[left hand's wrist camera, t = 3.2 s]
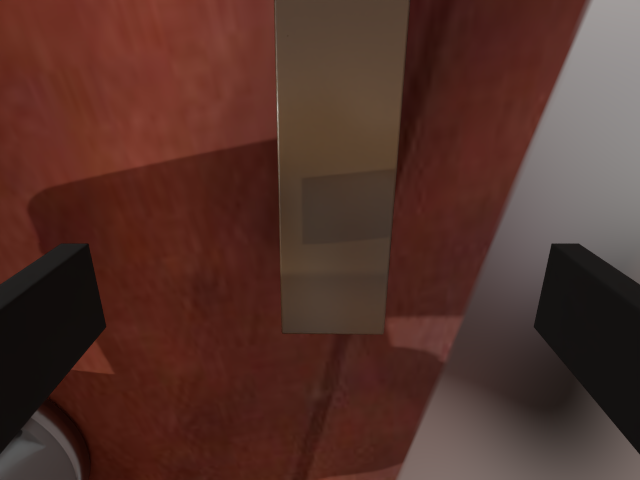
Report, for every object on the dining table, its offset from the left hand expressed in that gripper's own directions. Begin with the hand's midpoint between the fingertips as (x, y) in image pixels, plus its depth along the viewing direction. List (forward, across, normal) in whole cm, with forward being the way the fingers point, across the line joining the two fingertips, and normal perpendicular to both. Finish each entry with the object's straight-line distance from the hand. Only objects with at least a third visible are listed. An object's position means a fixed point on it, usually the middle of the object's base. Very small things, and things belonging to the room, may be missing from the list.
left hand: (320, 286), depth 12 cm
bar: (+13, -1, -23) cm, 27 cm away
